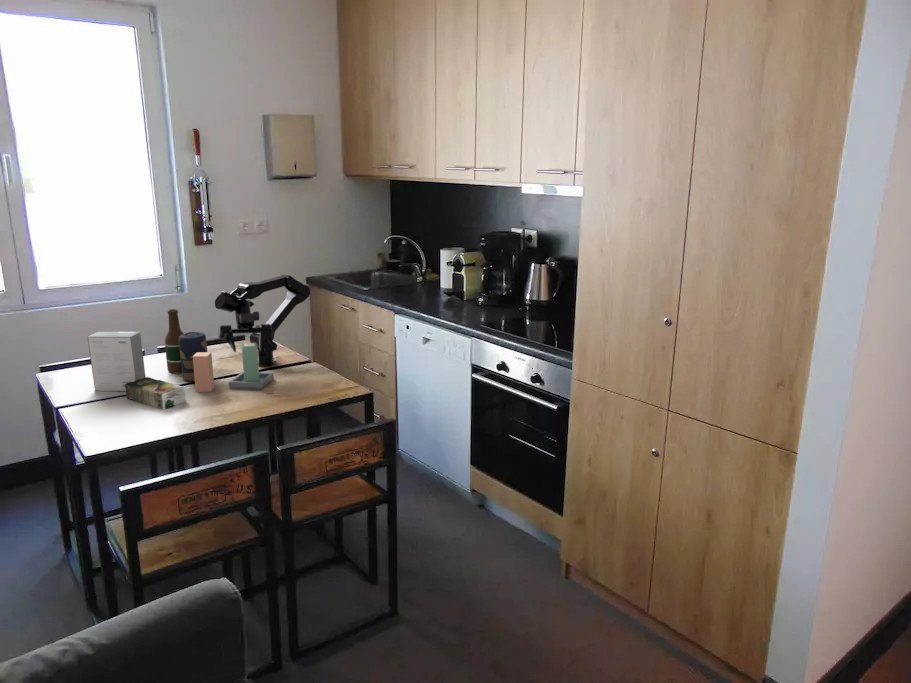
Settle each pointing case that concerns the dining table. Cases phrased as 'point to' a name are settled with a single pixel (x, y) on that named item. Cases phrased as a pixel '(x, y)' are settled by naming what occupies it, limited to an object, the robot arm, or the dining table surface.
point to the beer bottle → (173, 343)
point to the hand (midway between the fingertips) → (248, 351)
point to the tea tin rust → (203, 371)
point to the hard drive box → (115, 359)
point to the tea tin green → (250, 362)
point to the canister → (190, 351)
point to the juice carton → (155, 392)
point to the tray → (240, 384)
